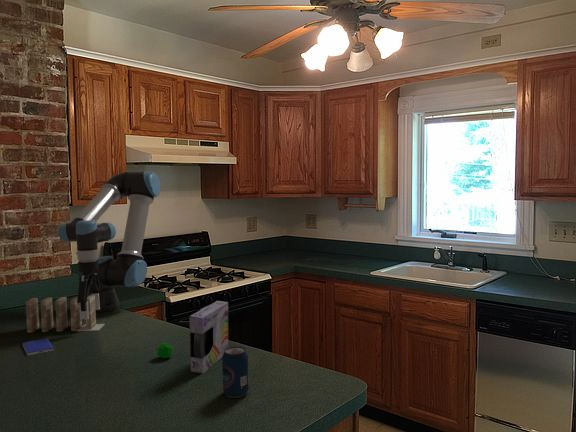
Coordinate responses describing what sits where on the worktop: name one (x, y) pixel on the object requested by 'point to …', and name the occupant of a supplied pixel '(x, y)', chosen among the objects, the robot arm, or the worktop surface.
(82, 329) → the end pad
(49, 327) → the domino
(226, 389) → the soda can
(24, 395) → the worktop surface
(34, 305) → the domino
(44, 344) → the hard drive
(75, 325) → the domino
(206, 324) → the cake pan box
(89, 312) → the domino
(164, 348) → the polyhedron
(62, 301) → the domino
